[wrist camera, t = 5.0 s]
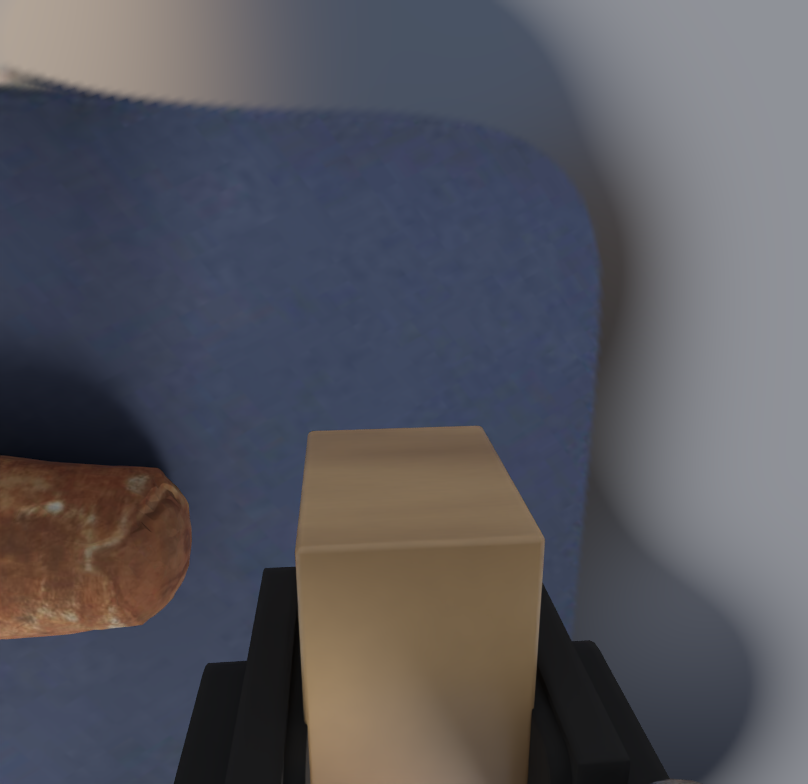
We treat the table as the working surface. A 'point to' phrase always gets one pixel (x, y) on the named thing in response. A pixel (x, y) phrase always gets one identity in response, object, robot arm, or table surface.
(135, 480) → the bread
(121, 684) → the table surface
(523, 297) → the table surface
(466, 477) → the knife
